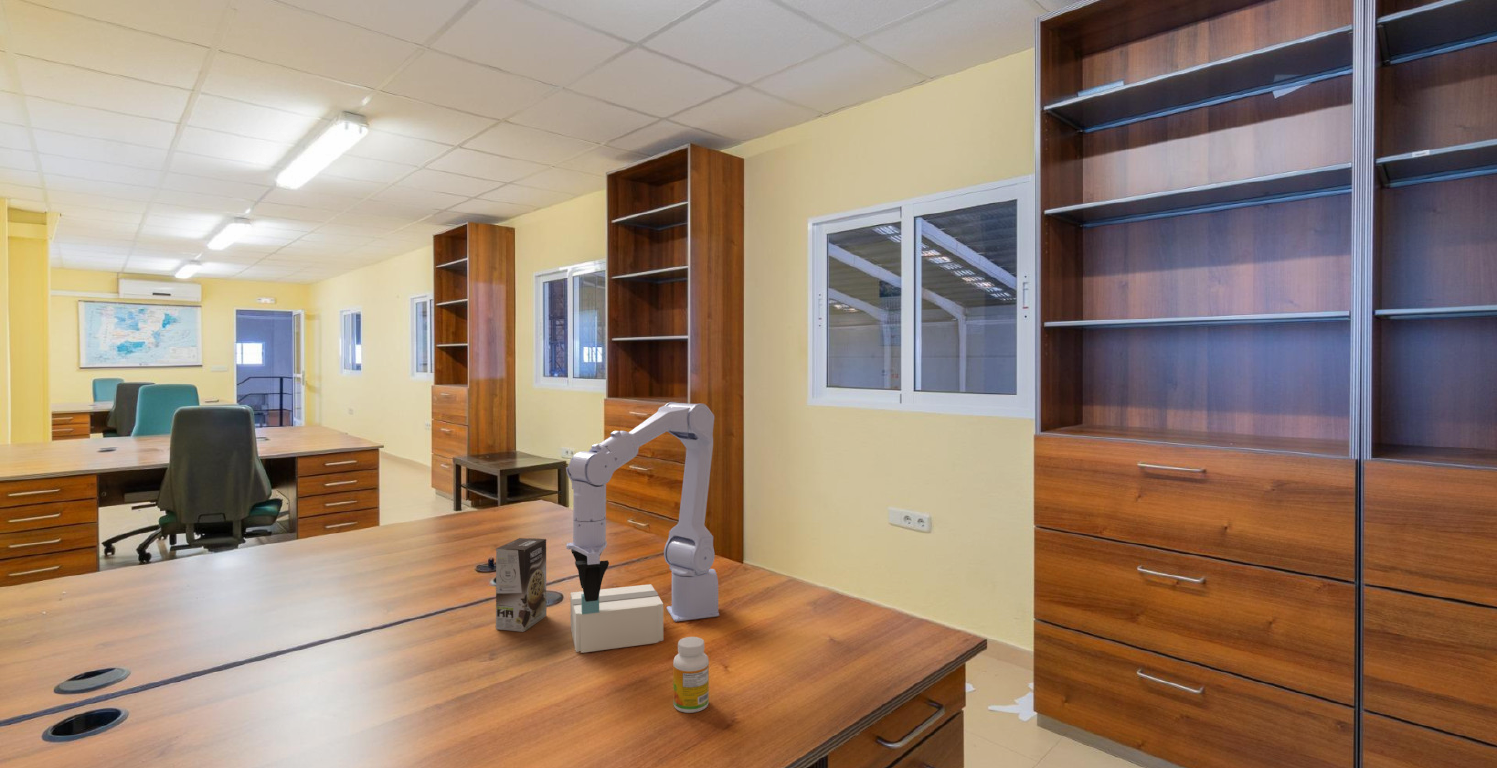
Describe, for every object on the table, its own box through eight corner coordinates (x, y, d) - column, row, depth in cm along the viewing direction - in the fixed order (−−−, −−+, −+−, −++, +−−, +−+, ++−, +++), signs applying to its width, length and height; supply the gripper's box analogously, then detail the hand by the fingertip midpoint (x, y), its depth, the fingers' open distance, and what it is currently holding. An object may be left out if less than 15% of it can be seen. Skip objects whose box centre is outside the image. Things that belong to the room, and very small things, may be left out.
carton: (651, 618, 137) (651, 583, 137) (663, 640, 126) (663, 602, 126) (570, 627, 132) (570, 591, 132) (575, 652, 121) (575, 613, 121)
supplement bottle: (673, 697, 105) (673, 635, 104) (708, 695, 105) (708, 634, 105) (672, 714, 99) (672, 649, 99) (709, 713, 100) (709, 648, 100)
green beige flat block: (657, 640, 126) (657, 586, 125) (658, 643, 124) (658, 588, 124) (580, 650, 121) (580, 594, 121) (581, 653, 120) (580, 596, 119)
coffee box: (524, 632, 130) (524, 549, 129) (494, 630, 131) (494, 548, 131) (548, 615, 139) (547, 538, 138) (519, 613, 140) (519, 536, 140)
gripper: (563, 511, 126) (563, 583, 126) (569, 529, 112) (569, 609, 113) (602, 509, 128) (601, 580, 129) (612, 526, 115) (611, 605, 115)
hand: (589, 593), depth 121 cm, fingers open, 7 cm apart
